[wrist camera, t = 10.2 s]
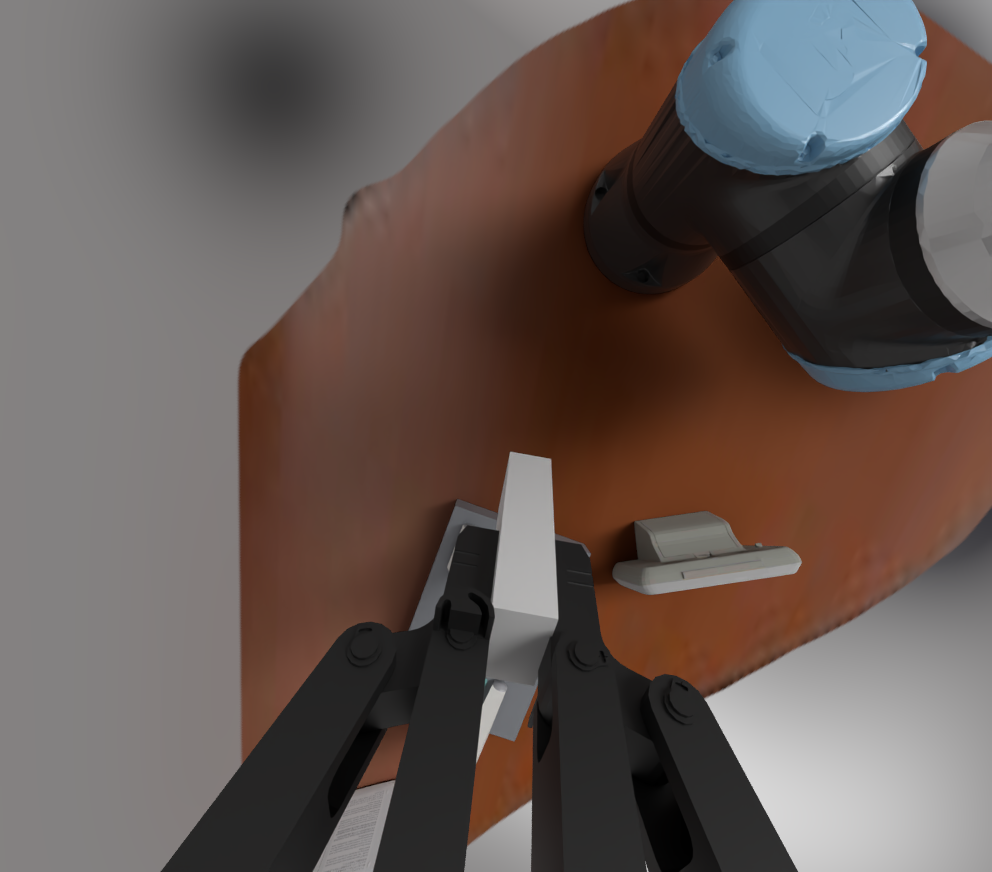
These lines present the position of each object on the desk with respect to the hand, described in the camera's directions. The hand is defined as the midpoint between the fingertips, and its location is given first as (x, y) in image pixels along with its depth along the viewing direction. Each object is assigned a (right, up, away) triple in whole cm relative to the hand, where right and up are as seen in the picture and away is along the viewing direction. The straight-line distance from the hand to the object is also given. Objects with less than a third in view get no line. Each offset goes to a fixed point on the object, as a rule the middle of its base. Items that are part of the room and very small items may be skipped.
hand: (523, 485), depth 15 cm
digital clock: (+20, -12, +34) cm, 41 cm away
